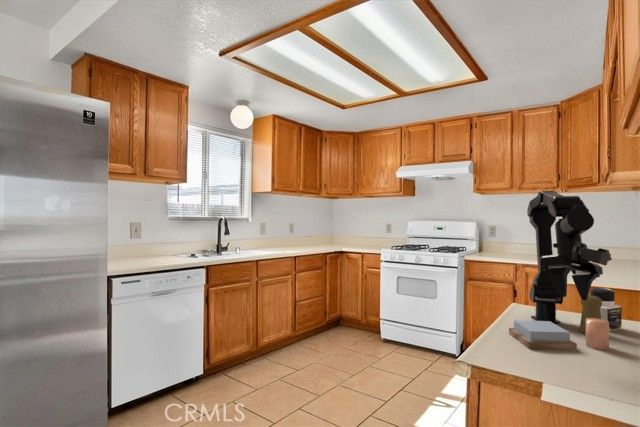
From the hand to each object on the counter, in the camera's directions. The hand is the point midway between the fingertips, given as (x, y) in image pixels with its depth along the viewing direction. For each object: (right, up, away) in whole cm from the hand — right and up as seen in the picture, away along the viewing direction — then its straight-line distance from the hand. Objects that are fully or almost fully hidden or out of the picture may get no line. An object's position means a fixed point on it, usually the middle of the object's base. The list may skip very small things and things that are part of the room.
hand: (574, 298), depth 97 cm
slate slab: (-5, -12, +7) cm, 14 cm away
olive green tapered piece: (+15, -14, +14) cm, 25 cm away
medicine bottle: (+22, -14, +20) cm, 33 cm away
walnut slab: (-5, -14, +7) cm, 16 cm away
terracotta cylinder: (+8, -13, +3) cm, 16 cm away
